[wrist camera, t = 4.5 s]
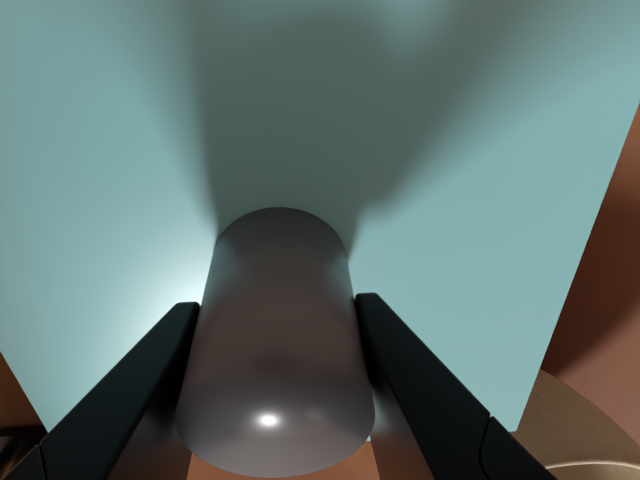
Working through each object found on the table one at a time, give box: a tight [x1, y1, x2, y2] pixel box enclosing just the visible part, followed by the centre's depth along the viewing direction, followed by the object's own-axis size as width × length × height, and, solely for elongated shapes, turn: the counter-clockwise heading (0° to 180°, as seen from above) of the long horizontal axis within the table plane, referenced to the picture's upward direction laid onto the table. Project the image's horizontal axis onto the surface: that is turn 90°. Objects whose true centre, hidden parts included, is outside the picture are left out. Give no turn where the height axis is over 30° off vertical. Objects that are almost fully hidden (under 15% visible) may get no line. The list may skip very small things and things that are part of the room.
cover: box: [0, 0, 640, 478], centre depth 9 cm, size 14×14×5 cm
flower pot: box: [509, 369, 640, 480], centre depth 21 cm, size 10×10×7 cm
